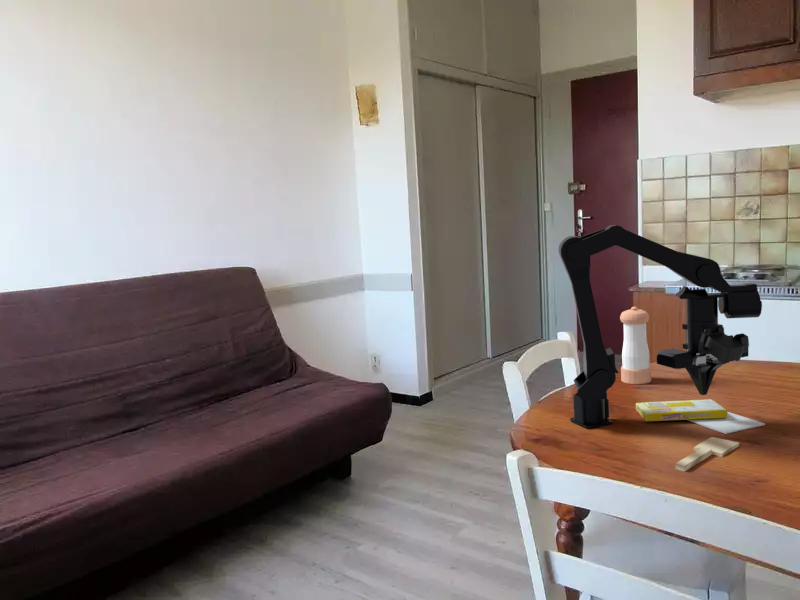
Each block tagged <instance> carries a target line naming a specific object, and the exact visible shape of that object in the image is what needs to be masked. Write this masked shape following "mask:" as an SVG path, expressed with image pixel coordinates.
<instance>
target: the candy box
mask: <svg viewBox="0 0 800 600" xmlns="http://www.w3.org/2000/svg"><path fill="white" fill-rule="evenodd" d="M635 410H636V412H638V414H639V415H640V416H641V418H642V419H643V420H644V421H645V422H664V421H685V420H686V421H688V420H691V419H710V418H727V412H728V409H726V408H724V407H723V406H722V405H720V404H719V403H718V402H716V401H715V400H714V399H712V398H708V399H688V400H665V401H646V402H645V401H644V402H643V401H642V402H636V403H635Z"/></svg>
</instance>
